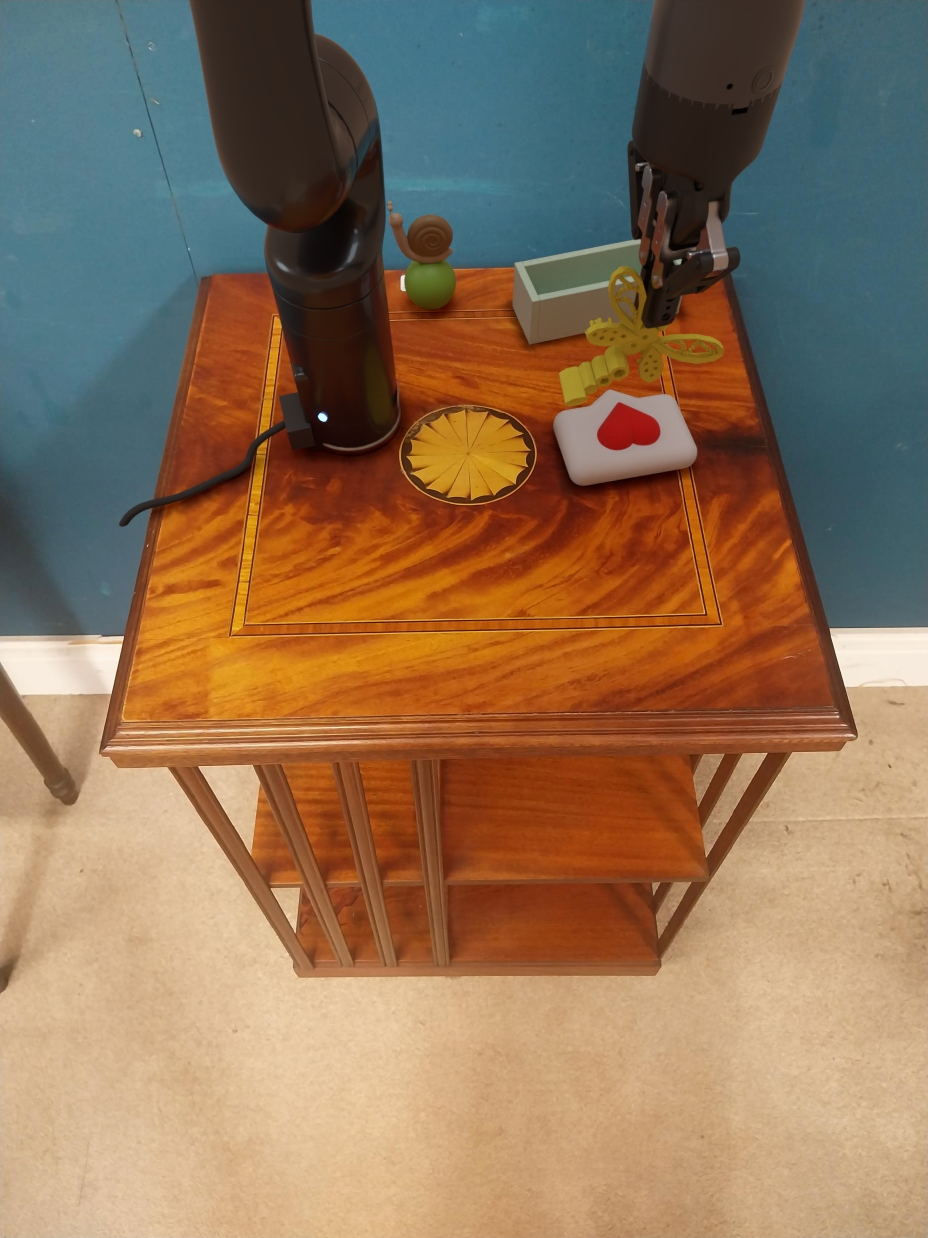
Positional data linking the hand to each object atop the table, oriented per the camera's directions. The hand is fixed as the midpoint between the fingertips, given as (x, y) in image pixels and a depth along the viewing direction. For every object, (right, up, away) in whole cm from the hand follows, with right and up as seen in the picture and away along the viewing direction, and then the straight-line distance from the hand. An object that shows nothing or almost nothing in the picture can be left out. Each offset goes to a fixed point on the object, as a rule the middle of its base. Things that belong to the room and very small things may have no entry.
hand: (652, 316), depth 60 cm
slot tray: (0, +11, +30) cm, 32 cm away
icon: (+1, -5, +21) cm, 22 cm away
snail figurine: (-17, +12, +31) cm, 38 cm away
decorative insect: (0, -4, +5) cm, 6 cm away
